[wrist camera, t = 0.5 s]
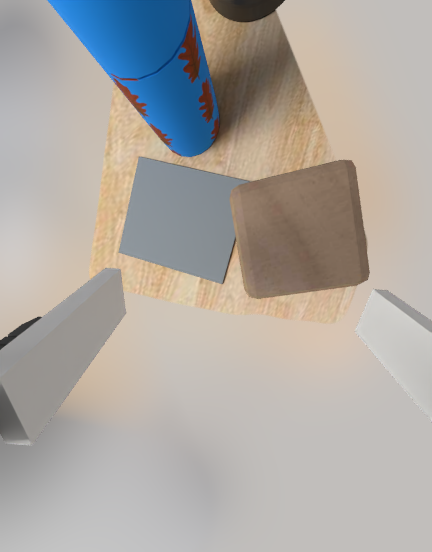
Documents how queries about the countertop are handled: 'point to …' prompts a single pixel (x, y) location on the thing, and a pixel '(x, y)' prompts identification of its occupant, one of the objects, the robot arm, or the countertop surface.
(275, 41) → the countertop surface
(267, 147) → the countertop surface
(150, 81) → the thermos
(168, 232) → the mat
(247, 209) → the block
